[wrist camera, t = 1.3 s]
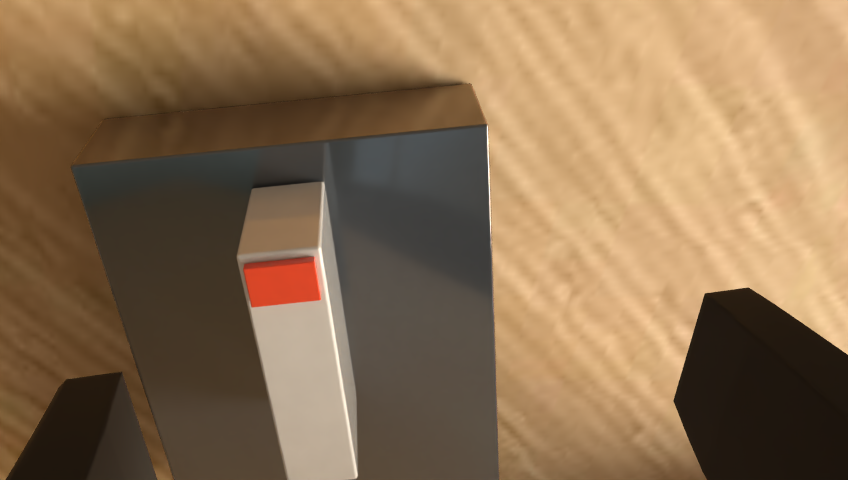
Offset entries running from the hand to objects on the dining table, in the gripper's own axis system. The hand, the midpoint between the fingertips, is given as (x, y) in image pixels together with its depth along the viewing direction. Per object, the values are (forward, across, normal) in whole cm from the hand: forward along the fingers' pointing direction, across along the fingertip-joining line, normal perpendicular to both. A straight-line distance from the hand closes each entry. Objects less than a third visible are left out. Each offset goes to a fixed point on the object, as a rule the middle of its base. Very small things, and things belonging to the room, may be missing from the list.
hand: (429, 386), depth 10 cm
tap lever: (+9, +1, +7) cm, 12 cm away
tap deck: (+12, +1, +9) cm, 15 cm away
